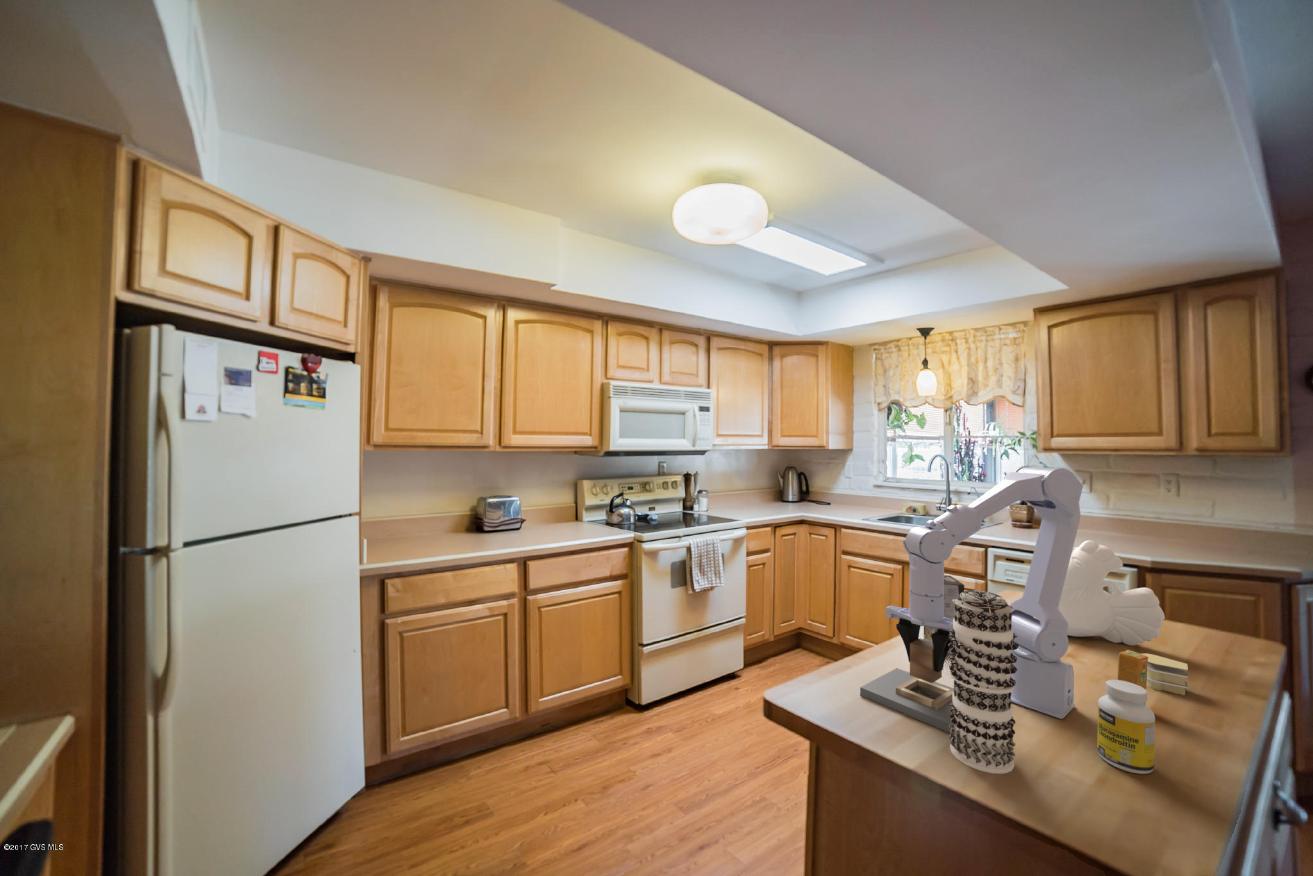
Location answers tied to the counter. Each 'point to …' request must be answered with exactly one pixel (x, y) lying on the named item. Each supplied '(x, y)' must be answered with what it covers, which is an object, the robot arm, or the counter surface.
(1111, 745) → the pill bottle
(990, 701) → the decorative candle
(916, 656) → the walnut block
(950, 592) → the coffee box
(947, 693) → the plate
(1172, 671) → the cream layered block
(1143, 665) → the supplement box
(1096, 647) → the counter surface
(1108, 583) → the decorative rooster
